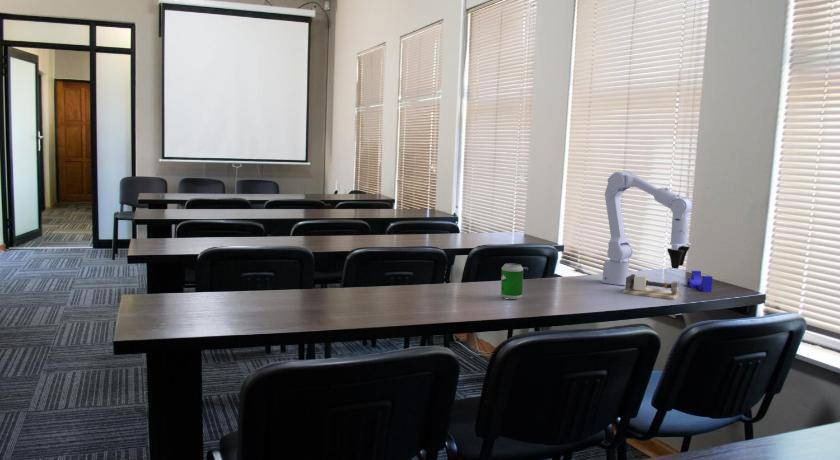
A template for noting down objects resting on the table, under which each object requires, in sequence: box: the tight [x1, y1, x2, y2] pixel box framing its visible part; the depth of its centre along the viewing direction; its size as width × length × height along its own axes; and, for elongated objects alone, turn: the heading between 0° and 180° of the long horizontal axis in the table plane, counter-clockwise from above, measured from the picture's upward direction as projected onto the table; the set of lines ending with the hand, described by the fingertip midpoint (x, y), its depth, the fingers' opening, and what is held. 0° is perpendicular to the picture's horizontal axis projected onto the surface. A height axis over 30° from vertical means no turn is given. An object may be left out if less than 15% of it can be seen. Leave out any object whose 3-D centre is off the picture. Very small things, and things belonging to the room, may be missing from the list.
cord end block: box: [634, 274, 650, 291], centre depth 242 cm, size 4×5×5 cm
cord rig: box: [623, 273, 681, 301], centre depth 240 cm, size 18×10×6 cm, turn 56°
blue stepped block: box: [686, 270, 713, 293], centre depth 251 cm, size 12×4×6 cm, turn 179°
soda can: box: [500, 263, 524, 300], centre depth 231 cm, size 8×8×12 cm
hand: (677, 266), depth 243 cm, fingers open, 7 cm apart
